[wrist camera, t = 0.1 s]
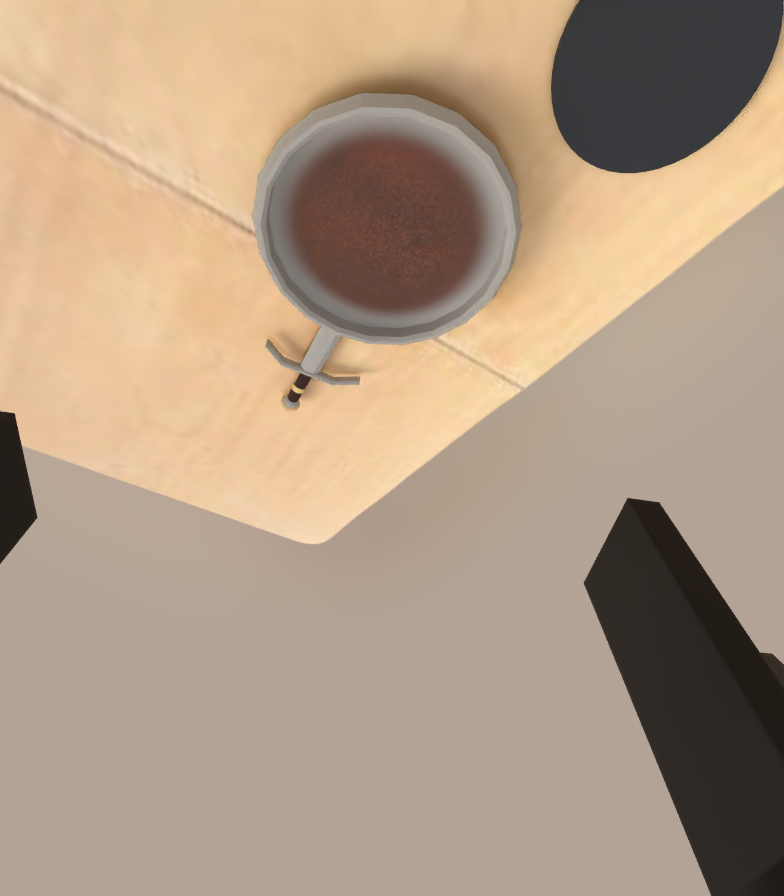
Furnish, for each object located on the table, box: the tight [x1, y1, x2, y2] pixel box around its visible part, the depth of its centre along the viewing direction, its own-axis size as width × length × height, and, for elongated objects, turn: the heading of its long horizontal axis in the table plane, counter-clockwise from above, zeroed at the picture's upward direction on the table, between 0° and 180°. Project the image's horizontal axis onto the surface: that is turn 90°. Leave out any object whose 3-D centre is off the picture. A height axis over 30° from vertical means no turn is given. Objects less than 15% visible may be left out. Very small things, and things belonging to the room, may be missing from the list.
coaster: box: [551, 0, 783, 173], centre depth 29 cm, size 11×11×1 cm
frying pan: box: [252, 93, 522, 411], centre depth 40 cm, size 17×3×28 cm
